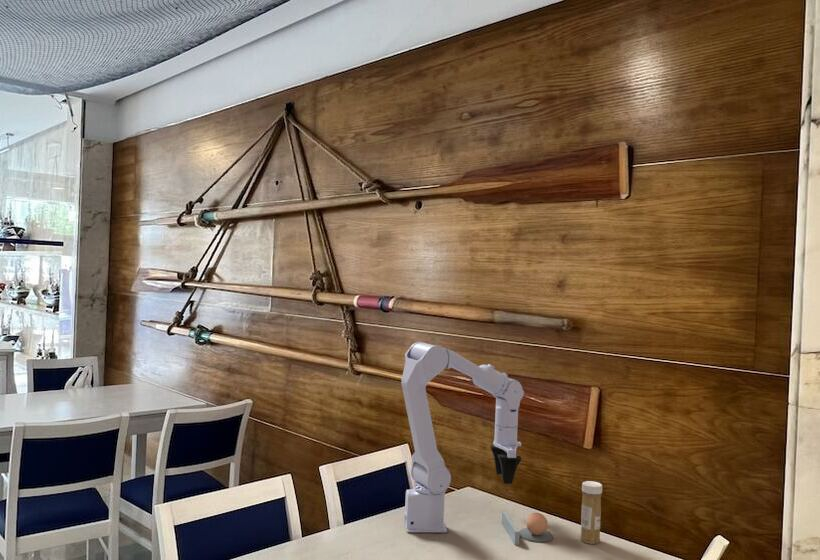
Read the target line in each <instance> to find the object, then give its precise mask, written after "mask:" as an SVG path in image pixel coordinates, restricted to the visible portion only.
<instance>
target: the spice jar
mask: <svg viewBox="0 0 820 560" xmlns="http://www.w3.org/2000/svg"><path fill="white" fill-rule="evenodd" d="M581 493H582V497H581V498H582V500H581V513H580V514H581V517H580V519H581V520H580V527H581V528H580V532H581V533H580V540H581V542H583V543H586V544H587V545H588V544H590V545H597V544H599V543H600V542H601V538H600V537H601V516H602V515H601V514H602V507H601V503H602V500H601V499H602V494H603V484H602V483H600V482H597V481H595V480H594V481H592V480H586V481H582V483H581Z"/></svg>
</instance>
